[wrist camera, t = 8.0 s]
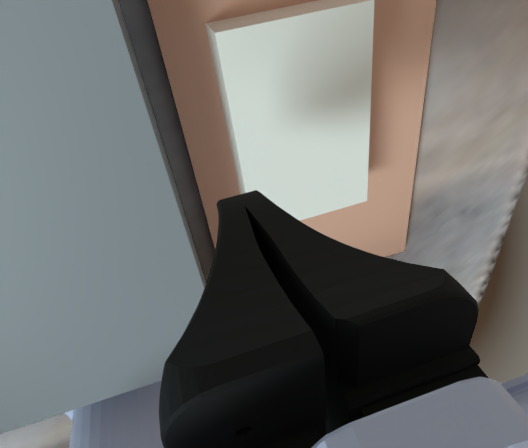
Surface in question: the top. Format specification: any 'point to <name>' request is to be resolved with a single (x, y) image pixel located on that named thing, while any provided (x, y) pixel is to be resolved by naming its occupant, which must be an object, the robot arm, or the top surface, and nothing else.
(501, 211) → the top surface
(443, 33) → the top surface
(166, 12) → the mat
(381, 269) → the robot arm
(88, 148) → the grey flat block
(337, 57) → the cream rectangular block
